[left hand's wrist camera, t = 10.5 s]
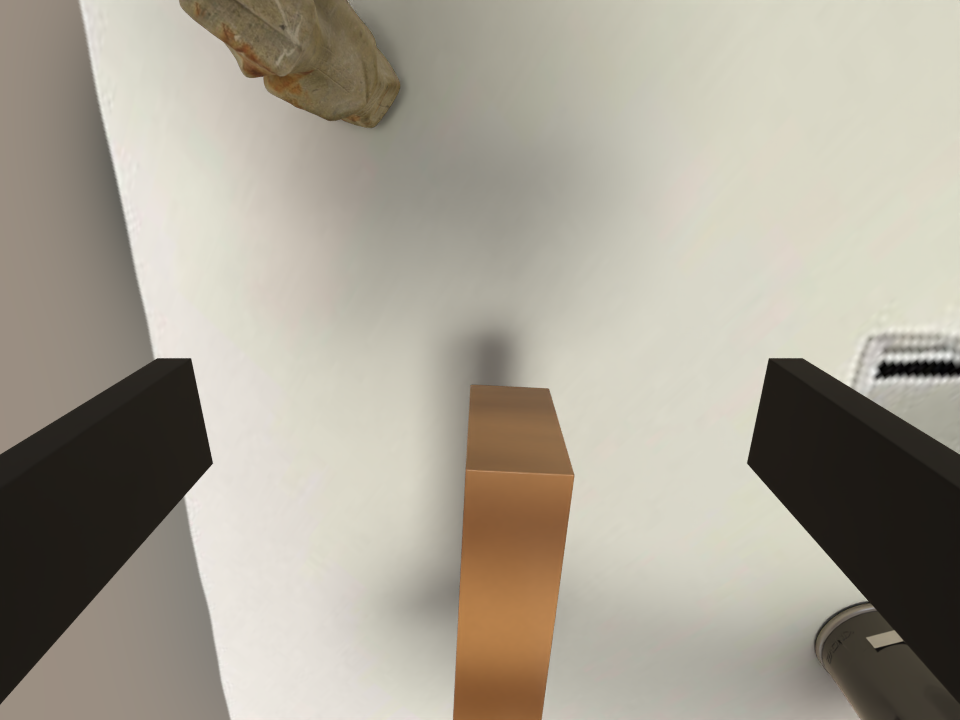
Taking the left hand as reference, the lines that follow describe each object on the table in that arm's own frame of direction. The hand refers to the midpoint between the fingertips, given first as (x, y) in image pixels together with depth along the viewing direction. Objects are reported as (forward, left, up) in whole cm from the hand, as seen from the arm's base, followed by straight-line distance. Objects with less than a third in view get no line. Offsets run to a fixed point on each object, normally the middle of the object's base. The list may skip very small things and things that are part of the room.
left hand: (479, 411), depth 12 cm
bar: (+20, +1, -17) cm, 26 cm away
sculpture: (-11, -9, -28) cm, 31 cm away
